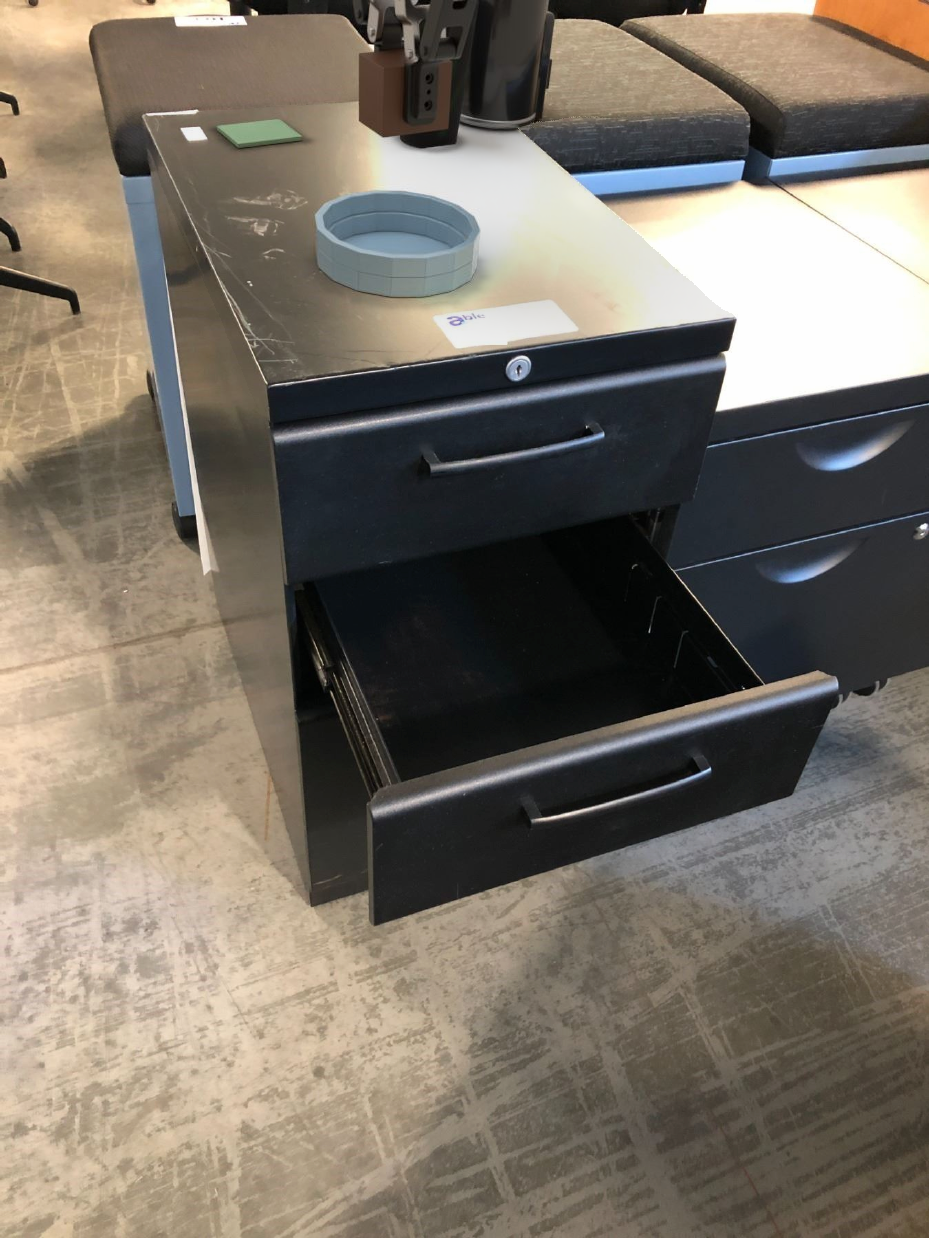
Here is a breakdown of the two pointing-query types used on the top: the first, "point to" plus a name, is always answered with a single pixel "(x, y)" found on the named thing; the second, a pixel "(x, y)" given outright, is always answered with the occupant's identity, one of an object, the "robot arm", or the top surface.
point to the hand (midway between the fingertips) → (403, 112)
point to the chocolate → (395, 94)
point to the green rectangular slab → (259, 133)
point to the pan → (396, 243)
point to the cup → (456, 93)
